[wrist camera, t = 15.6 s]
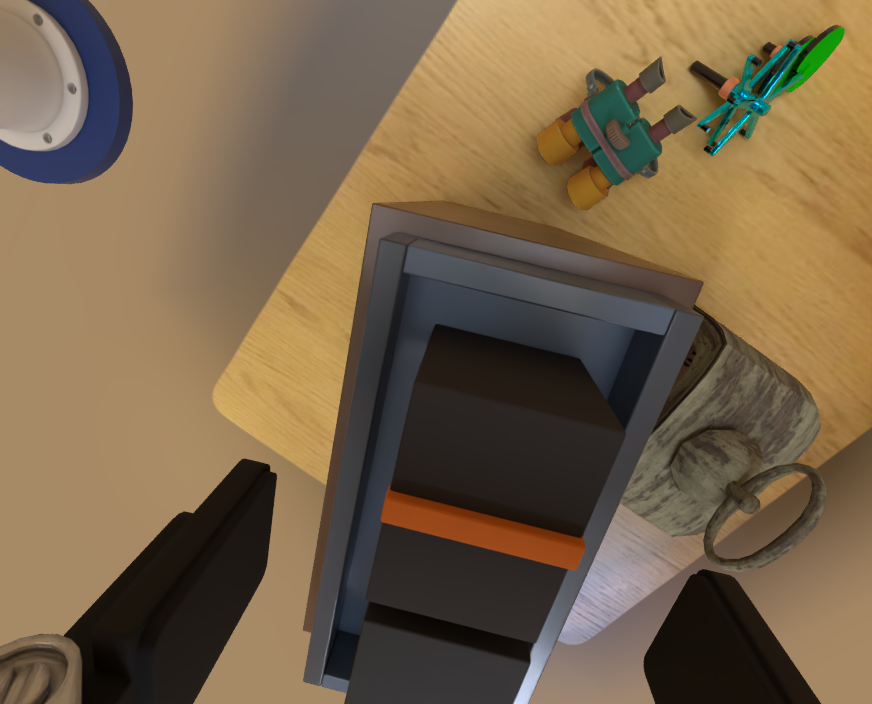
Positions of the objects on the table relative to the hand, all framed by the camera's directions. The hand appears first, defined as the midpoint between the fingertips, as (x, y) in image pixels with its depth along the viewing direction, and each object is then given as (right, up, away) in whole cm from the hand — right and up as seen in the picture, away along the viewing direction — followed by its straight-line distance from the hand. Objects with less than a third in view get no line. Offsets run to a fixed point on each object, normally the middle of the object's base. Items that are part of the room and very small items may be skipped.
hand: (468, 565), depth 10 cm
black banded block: (+1, +2, +6) cm, 7 cm away
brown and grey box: (+3, +8, +34) cm, 35 cm away
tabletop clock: (+18, +4, +34) cm, 39 cm away
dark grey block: (-1, -5, +9) cm, 10 cm away
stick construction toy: (+24, +27, +26) cm, 44 cm away
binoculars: (+13, +23, +28) cm, 38 cm away
